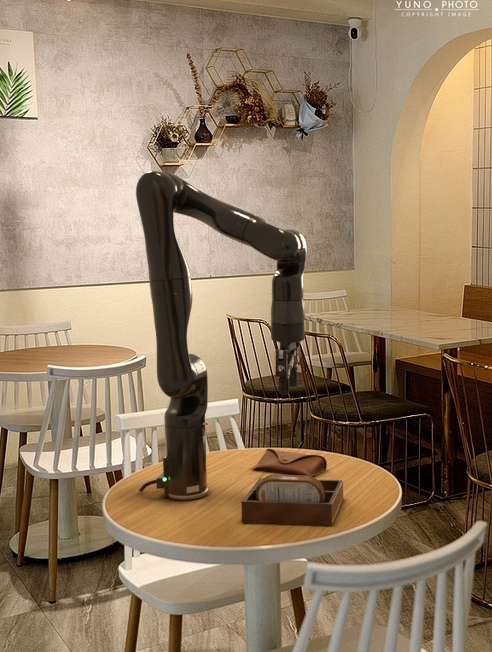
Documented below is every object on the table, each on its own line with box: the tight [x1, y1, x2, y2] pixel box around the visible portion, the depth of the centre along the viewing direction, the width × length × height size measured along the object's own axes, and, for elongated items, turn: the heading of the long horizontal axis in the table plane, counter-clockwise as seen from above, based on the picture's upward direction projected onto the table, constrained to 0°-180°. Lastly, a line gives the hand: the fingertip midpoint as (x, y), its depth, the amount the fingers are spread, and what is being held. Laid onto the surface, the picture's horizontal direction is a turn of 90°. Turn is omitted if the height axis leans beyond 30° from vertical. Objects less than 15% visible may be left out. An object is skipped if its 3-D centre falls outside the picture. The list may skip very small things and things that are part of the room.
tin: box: [256, 473, 325, 503], centre depth 190 cm, size 15×3×8 cm, turn 84°
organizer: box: [240, 477, 344, 527], centre depth 194 cm, size 20×16×5 cm
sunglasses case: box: [252, 448, 328, 477], centre depth 225 cm, size 18×7×7 cm
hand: (288, 390), depth 198 cm, fingers open, 8 cm apart
